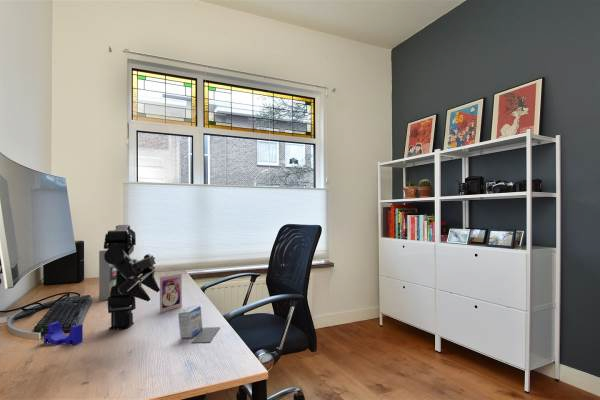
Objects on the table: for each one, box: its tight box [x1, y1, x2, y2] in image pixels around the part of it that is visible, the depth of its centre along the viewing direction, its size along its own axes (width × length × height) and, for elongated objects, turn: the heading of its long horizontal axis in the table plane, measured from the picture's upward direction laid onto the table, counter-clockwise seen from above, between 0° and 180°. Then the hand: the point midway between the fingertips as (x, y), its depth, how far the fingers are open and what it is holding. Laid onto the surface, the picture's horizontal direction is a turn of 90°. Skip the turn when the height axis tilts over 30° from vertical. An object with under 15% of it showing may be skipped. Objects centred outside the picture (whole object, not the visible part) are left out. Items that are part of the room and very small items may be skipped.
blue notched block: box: [43, 321, 84, 346], centre depth 113 cm, size 12×4×6 cm, turn 71°
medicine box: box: [177, 305, 204, 339], centre depth 118 cm, size 8×4×9 cm, turn 169°
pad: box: [191, 326, 221, 344], centre depth 117 cm, size 6×14×1 cm, turn 0°
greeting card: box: [159, 272, 183, 313], centre depth 152 cm, size 11×7×15 cm, turn 148°
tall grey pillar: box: [98, 249, 117, 301], centre depth 176 cm, size 14×6×25 cm, turn 179°
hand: (154, 295), depth 119 cm, fingers open, 9 cm apart
